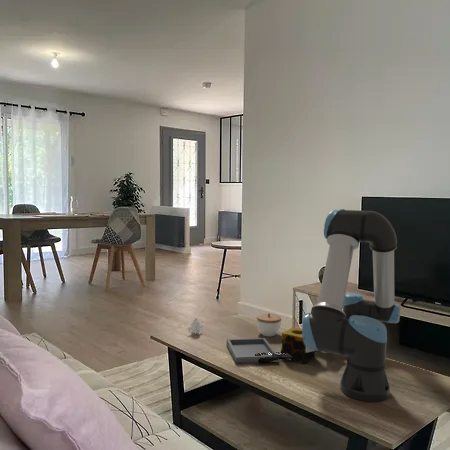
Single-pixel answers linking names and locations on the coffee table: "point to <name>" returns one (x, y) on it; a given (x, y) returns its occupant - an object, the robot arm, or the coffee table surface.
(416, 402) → the coffee table surface
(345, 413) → the coffee table surface
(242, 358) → the tray
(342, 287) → the robot arm
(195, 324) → the rocket toy
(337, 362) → the coffee table surface
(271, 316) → the lidded jar
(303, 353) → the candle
